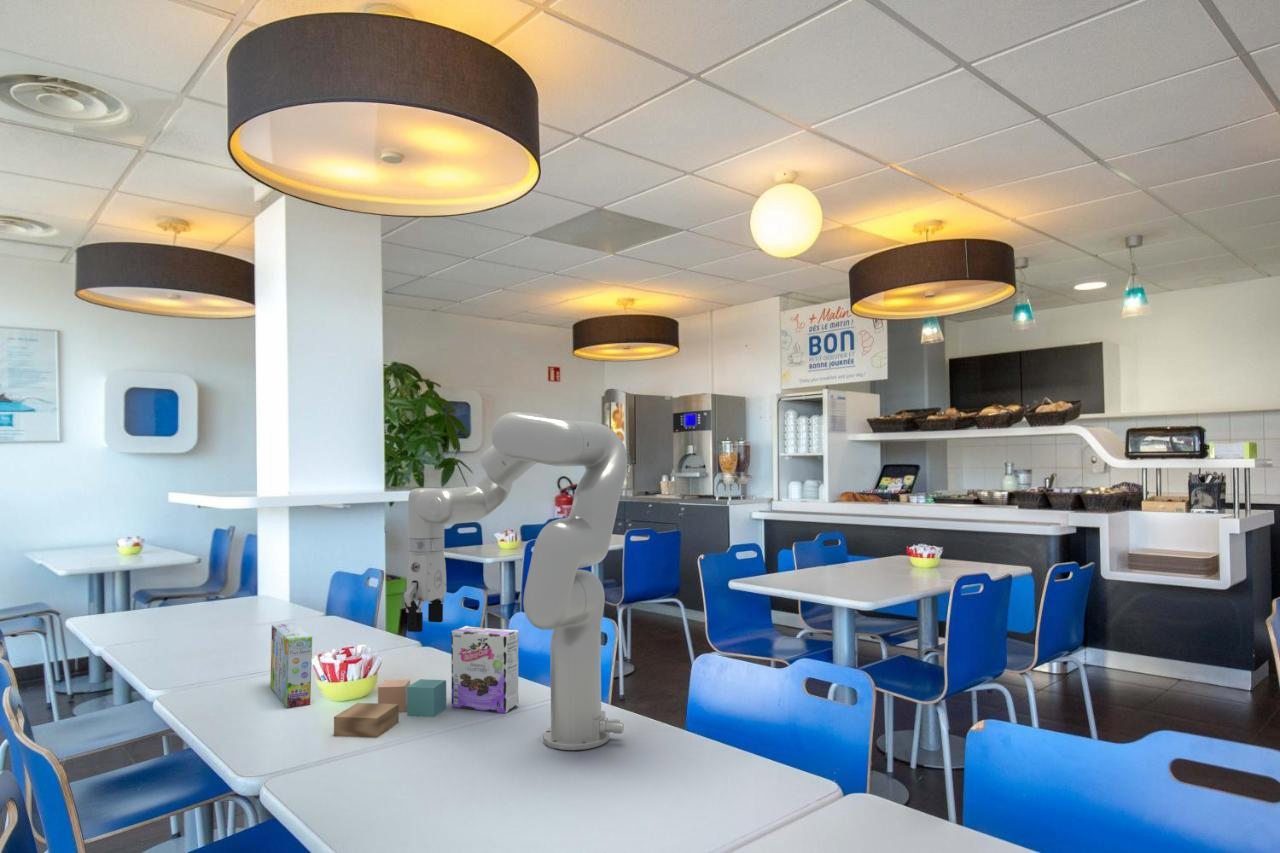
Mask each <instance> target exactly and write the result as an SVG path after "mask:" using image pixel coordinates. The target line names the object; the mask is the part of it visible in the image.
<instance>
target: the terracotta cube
mask: <svg viewBox="0 0 1280 853" xmlns="http://www.w3.org/2000/svg"><path fill="white" fill-rule="evenodd" d="M410 685H411V679H387V680H386V679H384V680H383V681H382V682H381V683H380V685H379V686H377V690H378V691H377V703H379V704H399V713H400V714H401V713H406V711H407V687H408V686H410Z"/></svg>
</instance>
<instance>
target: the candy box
mask: <svg viewBox="0 0 1280 853" xmlns="http://www.w3.org/2000/svg"><path fill="white" fill-rule="evenodd" d="M450 642H451V654H450V655H451V661H450V662H451V707H453V708H457V709H458V708H460V709H467V710H477V711H483V712H494V713H499V714H506V713H508V711H509V712H510V710H511V711H512V709H513V710H515V709H516V708H518V707H519V706H518V705H519V630H518V629H503V628H502V629H501V628H500V629H499V628H488V627H487V628H486V627H477V626H469V625H465V626H463V627H459V628H457V629H453V630H451V641H450ZM517 706H518V707H517ZM515 707H516V708H515ZM514 708H515V709H514Z"/></svg>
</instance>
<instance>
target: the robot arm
mask: <svg viewBox="0 0 1280 853" xmlns="http://www.w3.org/2000/svg"><path fill="white" fill-rule="evenodd" d="M490 436H491V437H490V438H491V443H492V445H491V446H490V447H488V448H487V449H486V450H485V451H484V452H483V453H482V455H481V458H480V462H481V463H480V464H481V468H482V470H483V472H484V473H485V475H484V477H482V478H481V479H480V480H479V481H477V482H476V483H475V484H473V485H471V486H459V487H447V488H446V487H445V488H438V487H424V488H423V487H420V488H419V487H418V488H414V489H411V490H410V491H409V494H408V498H407V499H408V501H407V502H408V507H407V508H408V509H407V510H408V511H407V512H408V514H407V516H408V519H407V520H408V521H407V522H408V523H407V527H408V528H407V554H408V555H409V556H408V565H407V575H406V591H405V592H404V594H403V598H404V601H405V602H404V607H406V609H405V613H406V616H407V617H406V619H407V621H406V622H407V623H406V630H407V632H410V633H411V632H412V633H421V632H423V630H424V628H423V625H424V619H423V618H424V616H423V615H424V613H423V611H422V609H423V606H424V603H425V602H427V603H428V606H427V608H428V609H427V610H428V613H427V617H428V618H427V619H428V620H427V621H428V622H429V623H443V622H444V601H445V599H444V596H445V595H446V594H447V567H446V565H447V564H446V559H445V558H446V556H445V525H446V526H447V525H453V524H454V525H457V524H462V523H472V522H473V523H474V522H477V521H480V520H482V519H484V518H486V517H487V516H488V515H490V514H491V513H492V512H493V511H495V510H496V509H497V508H499V507H500V506H501V505H502V504H503V503H504V502H505V501H507V499H508V496H509V495H510V492H511V490H512V488H513V483H514V482H516V481H517V480H518V479H519V478H521V476H523V475H524V474H526V472H528V471H529V470H531V468H532V467H533V466H534V465H536V464H541V465H547V466H553V467H584V468H585V470H584V473H583V475H582V477H581V479H580V480H579V482H578V484H577V486H576V489H575V490H574V493H573V494H574V495H573V499H572V500H573V501H572V505H571V509H570V512H569V514H568V516H567V517H563V518H558V519H555V520H551V521H550V522H548V523H546V524H545V526H544V527H542V529H541V530H540V531H539V533H538V534H537V537H536V539H535V542H534V545H533V550H532V554H531V558H530V564H529V568H528V572H527V578H526V582H525V587H524V590H523V591H524V593H523V602H522V604H523V611H524V614H525V617H526V619H527V620H528V622H529V623H530V624H531V625H532V626H533V627H535V628H537V629H539V630H543V631H550V630H552V633H551V637H550V651H549V653H550V654H549V655H550V656H549V657H550V658H549V659H550V662H549V663H550V669H549V670H550V728H547V729H546V730H545V731H544V732H543V734H542V742H543V744H544V745H547V747H549V748H553V749H556V750H563V751H581V750H583V751H584V750H589V749H590V750H591V749H593V748H597V747H600V746H603V745H604V744H607V742H608V741H609V740H610V738H611V734H616V735H617V734H624V728H625V726H624V725H625V724H624V722H621V720H620V719H609V718H608V717H606V711H605V710H602V674H601V673H602V671H601V670H602V663H601V655H602V653H601V649H602V647H601V646H602V644H601V643H602V642H601V637H602V636H601V635H602V632H601V631H602V621H603V617H604V610H605V608H604V607H605V601H606V600H605V599H606V598H605V597H606V596H605V589H604V585H603V582H601V580H600V579H599V577H598V576H597V575H596V574H594V573H593V572H591V571H589V570H587V569H584V568H588V567H591V566H594V565H597V564H599V563H601V562H602V561H603V560H604V559H605V558H606V556H607V555H608V552H609V549H610V544H611V540H612V535H613V530H614V526H615V522H616V519H617V518H616V517H617V513H618V507H619V503H620V498H621V495H622V490H623V487H624V484H625V479H626V475H627V471H628V454H627V450H626V447H625V445H624V443H623V440H622V439H621V438H620V436H619V435H618V434H617V433H616V432H615V431H614V430H613V429H611V428H610V427H608V426H607V425H604V424H602V423H598V422H594V421H587V420H586V421H585V420H581V421H580V420H568V419H565V420H564V419H556V418H551V417H548V416H546V415H545V414H540V413H536V412H535V413H533V412H519V411H511V412H507V413H505V414H503V415H502V416H500V417H499V418H498V419H497V420H496V421H495V423H494V425H493V427H492V430H491V434H490Z"/></svg>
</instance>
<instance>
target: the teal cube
mask: <svg viewBox="0 0 1280 853" xmlns="http://www.w3.org/2000/svg"><path fill="white" fill-rule="evenodd" d="M446 709H447V680H446V679H428V678H427V679H425V678H423V679H422V678H420V679H418V680H416V681H415V682H413V683H412V684H411V683H410V686H408V687H407V710H406V711H407V712H406V716H408V717H409V716H410V717H425V718H426V717H429V718H430V717H431V718H434V717H437V715H439V714H440V713H442V712H443V711H445V710H446Z"/></svg>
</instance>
